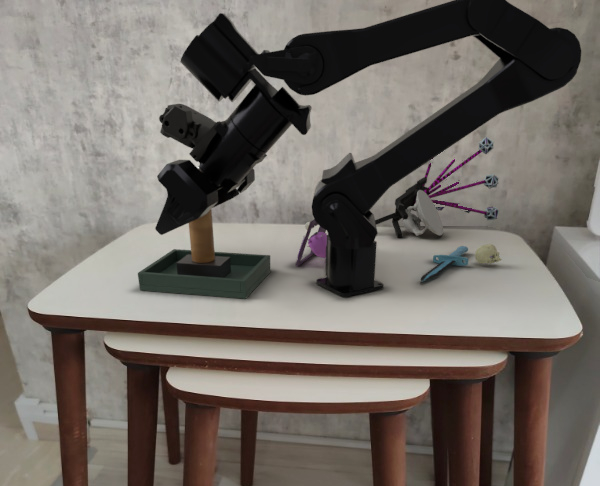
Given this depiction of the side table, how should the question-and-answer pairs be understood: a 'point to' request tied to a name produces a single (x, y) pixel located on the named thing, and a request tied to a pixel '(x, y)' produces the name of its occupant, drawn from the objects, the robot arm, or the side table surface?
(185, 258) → the wooden peg on stand
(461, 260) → the knife
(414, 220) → the miniature
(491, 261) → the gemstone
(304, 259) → the purple triangular frame ornament
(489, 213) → the decorative piece
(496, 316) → the side table surface
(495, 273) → the side table surface
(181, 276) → the tray
